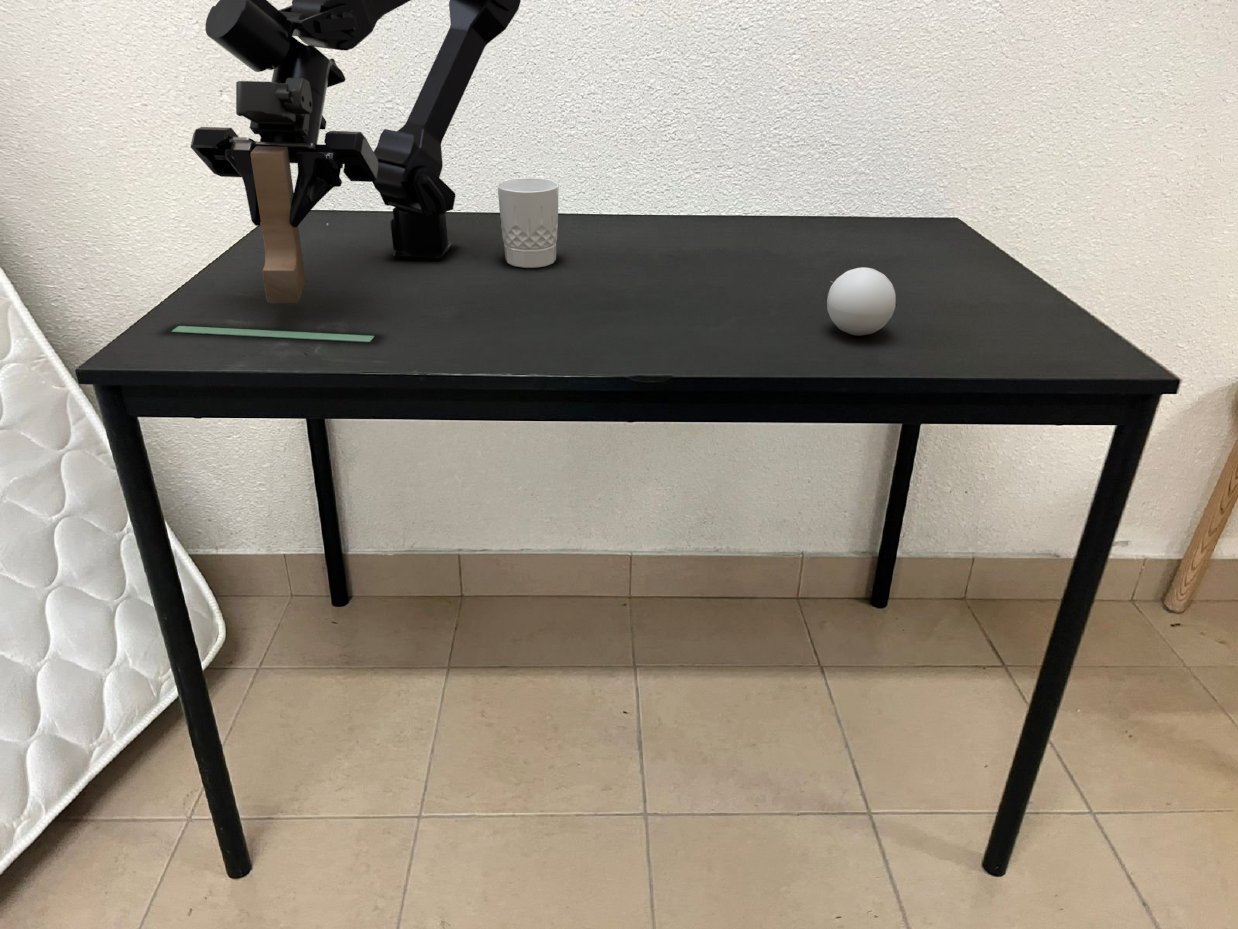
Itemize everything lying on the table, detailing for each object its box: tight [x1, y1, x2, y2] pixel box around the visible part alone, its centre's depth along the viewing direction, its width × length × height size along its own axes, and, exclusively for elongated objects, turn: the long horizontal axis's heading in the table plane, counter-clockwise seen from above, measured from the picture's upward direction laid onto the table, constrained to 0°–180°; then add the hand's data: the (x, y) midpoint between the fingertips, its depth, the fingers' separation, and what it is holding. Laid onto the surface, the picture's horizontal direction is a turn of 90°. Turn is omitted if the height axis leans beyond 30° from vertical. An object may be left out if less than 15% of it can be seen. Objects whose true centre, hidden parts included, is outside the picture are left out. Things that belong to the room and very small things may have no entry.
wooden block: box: [251, 146, 307, 304], centre depth 95 cm, size 7×3×15 cm, turn 10°
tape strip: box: [170, 325, 375, 343], centre depth 96 cm, size 22×2×1 cm, turn 85°
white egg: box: [825, 266, 897, 337], centre depth 99 cm, size 10×7×7 cm
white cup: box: [496, 177, 560, 269], centre depth 117 cm, size 8×8×10 cm
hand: (273, 224), depth 95 cm, fingers closed on wooden block, 4 cm apart
